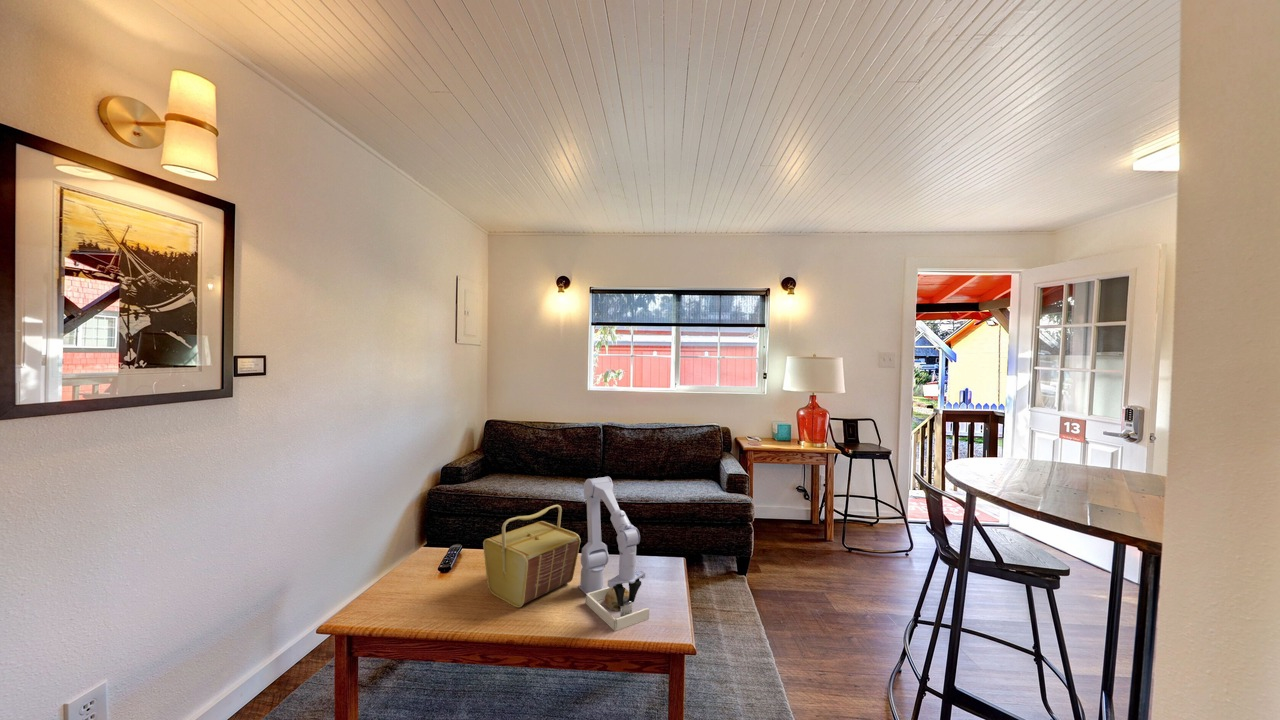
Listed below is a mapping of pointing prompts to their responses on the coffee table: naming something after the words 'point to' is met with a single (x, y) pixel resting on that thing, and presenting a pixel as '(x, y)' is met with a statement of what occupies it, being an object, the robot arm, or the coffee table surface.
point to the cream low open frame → (607, 617)
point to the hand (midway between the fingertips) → (625, 602)
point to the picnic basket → (530, 559)
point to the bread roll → (614, 599)
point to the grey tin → (626, 607)
